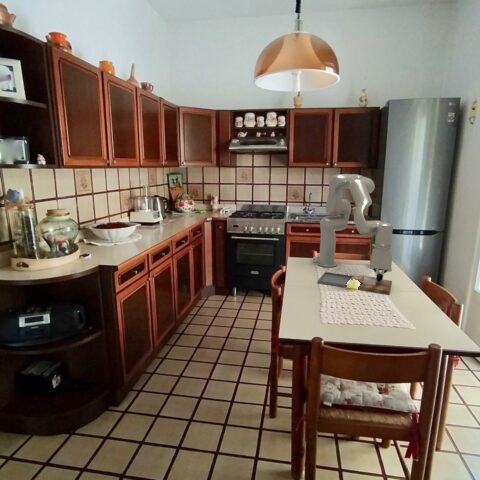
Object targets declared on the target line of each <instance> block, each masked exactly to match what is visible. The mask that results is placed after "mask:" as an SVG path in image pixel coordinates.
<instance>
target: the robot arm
mask: <svg viewBox="0 0 480 480" xmlns="http://www.w3.org/2000/svg"><path fill="white" fill-rule="evenodd" d="M375 187H376V186H375V182H374V180H372V179H371V178H370V177H366V176H363V175H361V174H357V173H356V174H355V173H352V174H351V173H342V174H341V173H340V174H338V173H337V174H334V175H332V176H331V177H330V179H329V183H328V193H327V194H328V195H327V199H326V205H325V212H326V214H327V215H326V216H323V217H322V218H321V219H320V221H319V228H320V242H319V256H313V257H312V260H313V261H316V265H317V266H320V267H323V268H334V267H336V266H337V262H336V261H335V259H336V257H335V256H336V246H337V245H336V242H337V236H336V235H335V232H337V231H338V232H339V231H344V230H345V229H346V228H347V227H348V223H349V219H350V215H351V210H352V207H351V206H352V205H351V202H350V201H349V200H348V199H346V198H345V199H344V198H343V195H344V193H343V192H344V191H343V190H349V191H350V194H351V197H352V199H353V202H354V204H355V210H354V213H353V214H354V215H353V222H354V225H355V227H356V230H357V232H358V233H359V234H360V235H362V236H373V235H376V240H375V244H372V246H373V247H375V248H374V249H373V251H372V255H371V261H370V260H369V270H372V271H373V272H375V274H376V279H377V282H381V280H384V279H383V278H384V275H385V274H386V273H391V272H392V269H393V268H392V266H393V265H392V264H393V251H392V249H391V248H392V247H391V246H392V238H393V228H394V226H393V224H391V223H389V222H384V221H382V220H378V219H377V220H366V218H365V216H364V210H365V209H367V208H369V207H370V206H371V205H372V203H373V200H372V197H371V195H370V194H372V193H373V192H374V190H375ZM334 231H335V232H334ZM379 269H382V270H381V271H380V270H379Z"/></svg>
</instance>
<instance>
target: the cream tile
mask: <svg viewBox="0 0 480 480" xmlns="http://www.w3.org/2000/svg"><path fill="white" fill-rule="evenodd" d="M376 277H377V276H376ZM376 277H375V276H370V275H369V276H368V275H364V280H363V284H370V285H376V282H377V279H376Z"/></svg>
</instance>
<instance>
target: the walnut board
mask: <svg viewBox="0 0 480 480" xmlns="http://www.w3.org/2000/svg"><path fill="white" fill-rule="evenodd" d="M392 282H393V281H392V280H388V279H383V280H381V282H376V285H370V284H363V283H362V284H361V286H360V290H359V291H362V292H367V293H374V294H380V295H387V296H389V295H390V293H391V288H392Z"/></svg>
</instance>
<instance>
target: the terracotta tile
mask: <svg viewBox="0 0 480 480" xmlns="http://www.w3.org/2000/svg"><path fill="white" fill-rule="evenodd" d="M354 276H355V277H352V279H351V280H353V279H355V280H358V281H359V282H360V283H363V280H364V277H365V275H363V274H362V275H354Z"/></svg>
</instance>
